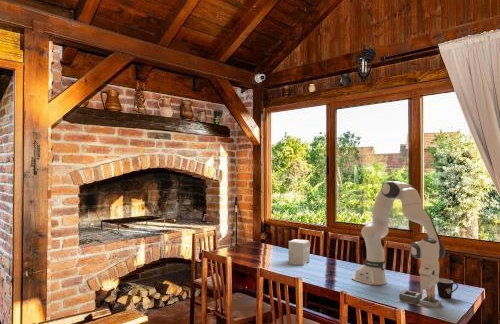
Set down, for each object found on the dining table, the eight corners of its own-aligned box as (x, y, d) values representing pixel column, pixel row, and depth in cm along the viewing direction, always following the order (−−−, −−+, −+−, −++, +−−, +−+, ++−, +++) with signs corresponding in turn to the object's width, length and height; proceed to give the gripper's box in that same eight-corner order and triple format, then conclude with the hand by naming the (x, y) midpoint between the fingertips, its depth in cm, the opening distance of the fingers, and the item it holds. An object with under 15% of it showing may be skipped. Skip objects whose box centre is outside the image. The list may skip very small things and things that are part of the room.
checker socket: (399, 300, 201) (399, 292, 201) (405, 296, 208) (405, 288, 208) (416, 304, 195) (416, 296, 195) (421, 300, 202) (421, 292, 202)
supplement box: (309, 262, 290) (309, 240, 290) (303, 265, 278) (303, 243, 279) (294, 259, 296) (294, 238, 297) (288, 263, 285) (288, 241, 286)
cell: (425, 301, 194) (425, 285, 194) (428, 299, 197) (427, 283, 197) (433, 302, 191) (433, 286, 192) (435, 300, 194) (435, 285, 195)
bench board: (397, 301, 201) (397, 300, 201) (404, 296, 209) (404, 295, 209) (436, 311, 187) (436, 309, 187) (442, 305, 195) (442, 304, 195)
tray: (419, 304, 194) (419, 300, 194) (424, 300, 200) (424, 296, 200) (436, 309, 188) (436, 304, 188) (441, 304, 194) (441, 300, 195)
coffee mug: (437, 299, 204) (437, 282, 205) (435, 294, 213) (435, 278, 213) (460, 302, 200) (460, 284, 201) (457, 297, 208) (457, 280, 209)
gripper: (429, 264, 205) (430, 288, 204) (417, 271, 190) (418, 297, 189) (442, 266, 200) (442, 291, 200) (430, 273, 185) (430, 300, 185)
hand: (430, 294), depth 194 cm, fingers closed on cell, 4 cm apart
